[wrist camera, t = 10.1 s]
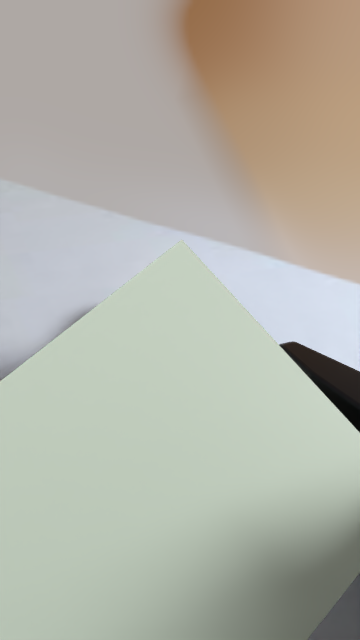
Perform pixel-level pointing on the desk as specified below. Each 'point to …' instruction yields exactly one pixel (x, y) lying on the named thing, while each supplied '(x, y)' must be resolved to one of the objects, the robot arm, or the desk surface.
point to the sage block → (172, 475)
